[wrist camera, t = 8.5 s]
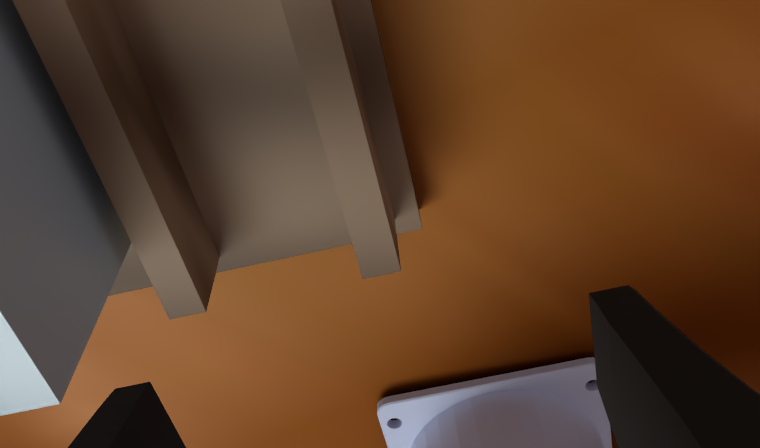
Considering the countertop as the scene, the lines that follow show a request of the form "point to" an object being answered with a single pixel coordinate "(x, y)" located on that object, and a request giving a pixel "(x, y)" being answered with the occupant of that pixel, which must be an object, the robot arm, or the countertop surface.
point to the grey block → (46, 231)
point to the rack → (232, 132)
